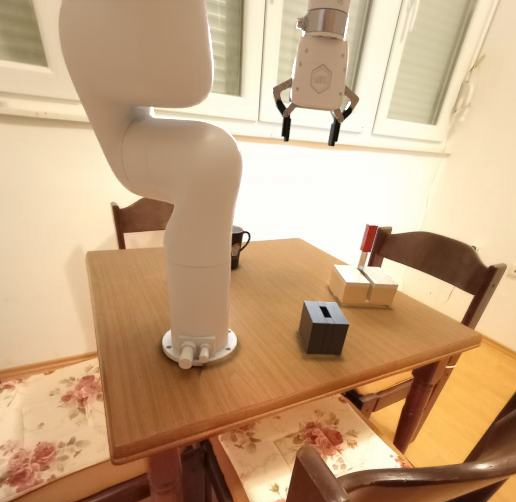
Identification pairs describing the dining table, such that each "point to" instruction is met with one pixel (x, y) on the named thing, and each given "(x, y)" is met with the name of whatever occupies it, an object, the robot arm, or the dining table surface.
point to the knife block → (323, 328)
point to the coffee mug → (237, 245)
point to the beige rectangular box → (362, 285)
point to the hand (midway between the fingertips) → (308, 143)
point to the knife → (367, 244)
